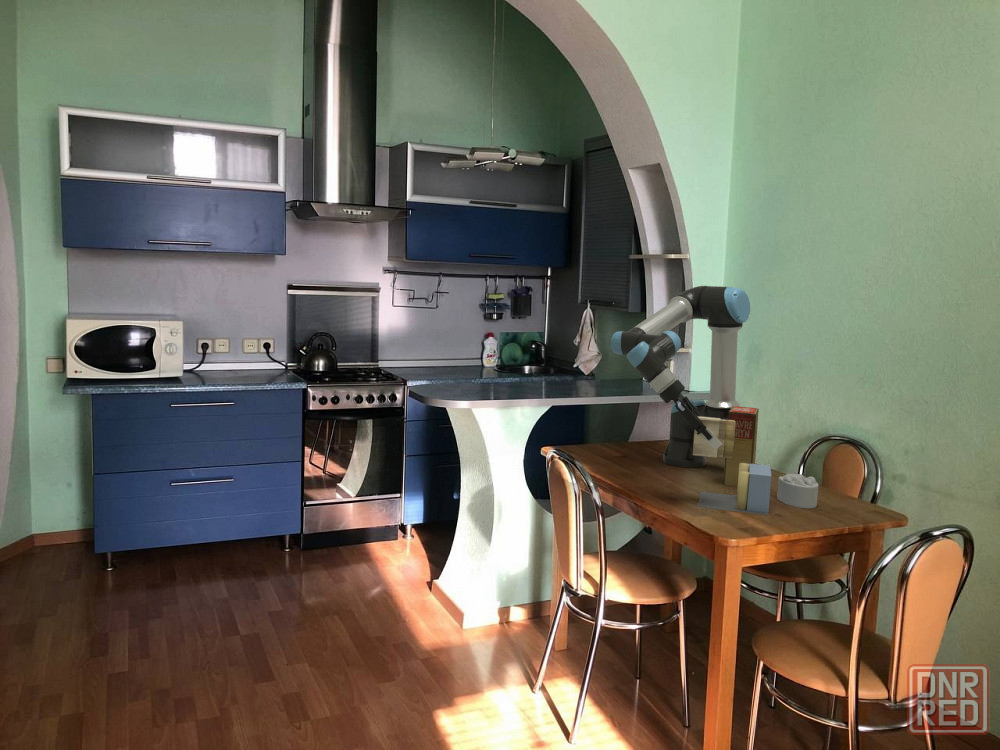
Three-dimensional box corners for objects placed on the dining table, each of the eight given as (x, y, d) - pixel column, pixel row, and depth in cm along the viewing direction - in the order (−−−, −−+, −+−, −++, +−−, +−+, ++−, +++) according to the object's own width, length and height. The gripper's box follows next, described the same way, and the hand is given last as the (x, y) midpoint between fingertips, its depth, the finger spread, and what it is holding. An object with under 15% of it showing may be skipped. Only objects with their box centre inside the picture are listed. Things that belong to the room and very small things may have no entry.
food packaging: (726, 477, 285) (731, 405, 282) (754, 480, 282) (760, 408, 279) (721, 486, 273) (727, 411, 270) (751, 490, 270) (758, 414, 267)
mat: (700, 493, 263) (700, 491, 263) (766, 500, 258) (766, 498, 257) (697, 508, 246) (697, 506, 246) (768, 516, 240) (768, 514, 240)
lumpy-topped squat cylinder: (804, 498, 262) (806, 471, 261) (824, 510, 250) (827, 482, 248) (772, 498, 261) (775, 471, 260) (791, 510, 248) (793, 482, 247)
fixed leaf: (736, 497, 258) (739, 462, 257) (767, 500, 256) (770, 465, 254) (736, 509, 245) (739, 472, 243) (768, 513, 242) (771, 476, 241)
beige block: (694, 451, 255) (696, 416, 253) (732, 455, 251) (735, 419, 250) (692, 454, 250) (695, 418, 249) (732, 459, 247) (735, 422, 245)
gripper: (661, 390, 262) (711, 446, 260) (654, 398, 245) (707, 459, 243) (680, 374, 260) (730, 432, 257) (673, 382, 243) (727, 443, 240)
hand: (718, 445), depth 250 cm, fingers closed on beige block, 5 cm apart
